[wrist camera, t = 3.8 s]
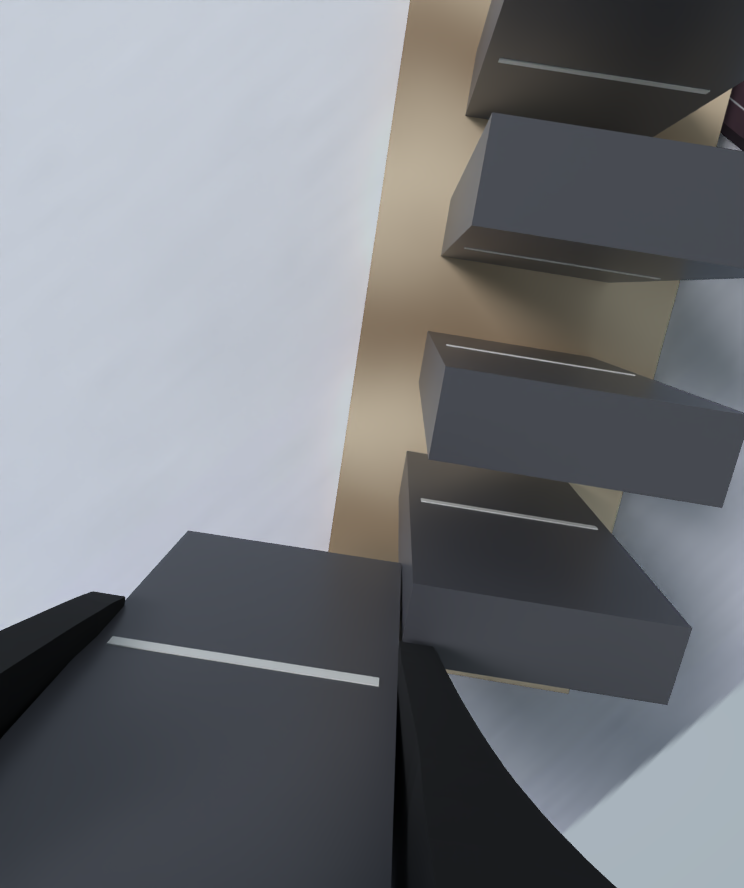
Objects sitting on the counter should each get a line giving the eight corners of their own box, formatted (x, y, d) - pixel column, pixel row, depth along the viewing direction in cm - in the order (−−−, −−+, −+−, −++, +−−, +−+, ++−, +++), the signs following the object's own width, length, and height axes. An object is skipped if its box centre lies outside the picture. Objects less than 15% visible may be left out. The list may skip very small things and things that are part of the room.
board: (561, 676, 23) (568, 693, 22) (317, 635, 23) (313, 650, 22) (733, 27, 17) (752, 12, 16) (415, -21, 17) (415, -39, 16)
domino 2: (642, 144, 17) (883, -5, 9) (464, 116, 17) (524, -59, 9) (658, 79, 17) (927, -146, 8) (476, 51, 17) (550, -201, 8)
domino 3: (608, 283, 18) (794, 277, 9) (440, 256, 18) (471, 226, 10) (622, 225, 18) (830, 162, 9) (450, 197, 18) (492, 110, 9)
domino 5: (550, 522, 20) (667, 705, 11) (398, 498, 20) (398, 662, 11) (562, 474, 20) (692, 627, 11) (406, 449, 20) (413, 582, 11)
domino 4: (578, 409, 19) (721, 508, 10) (418, 383, 19) (428, 460, 10) (591, 356, 19) (751, 414, 10) (427, 330, 19) (445, 364, 10)
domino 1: (391, 625, 15) (362, 1122, 6) (183, 593, 15) (-141, 1035, 6) (401, 562, 14) (387, 998, 6) (187, 529, 14) (-154, 907, 6)
